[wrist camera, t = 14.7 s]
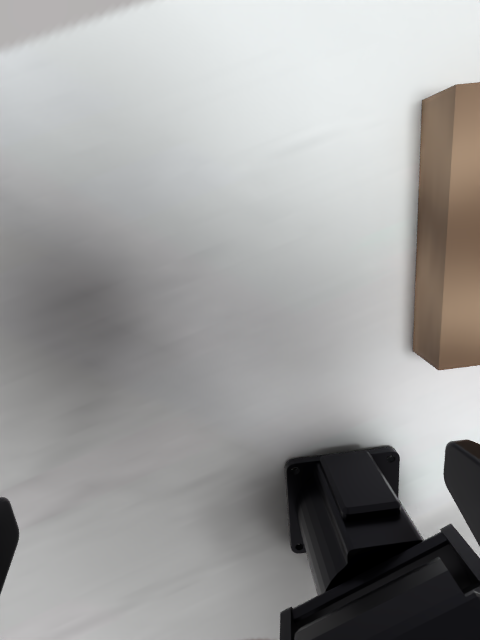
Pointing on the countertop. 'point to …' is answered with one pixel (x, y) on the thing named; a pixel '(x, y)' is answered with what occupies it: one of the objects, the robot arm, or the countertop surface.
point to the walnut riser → (449, 230)
